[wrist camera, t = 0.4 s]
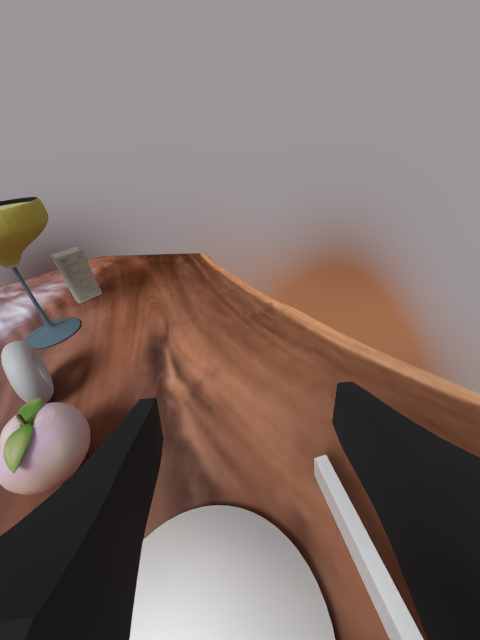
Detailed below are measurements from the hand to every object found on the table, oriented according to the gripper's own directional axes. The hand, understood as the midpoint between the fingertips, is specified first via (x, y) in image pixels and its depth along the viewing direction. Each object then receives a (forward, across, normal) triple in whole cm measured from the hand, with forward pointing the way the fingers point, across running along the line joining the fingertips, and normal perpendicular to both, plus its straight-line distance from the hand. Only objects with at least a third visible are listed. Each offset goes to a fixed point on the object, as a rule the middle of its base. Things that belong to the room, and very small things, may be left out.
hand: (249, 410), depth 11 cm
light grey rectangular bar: (+2, -10, +20) cm, 22 cm away
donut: (+30, +28, +20) cm, 45 cm away
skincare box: (+64, +34, +15) cm, 74 cm away
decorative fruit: (+16, +19, +21) cm, 33 cm away
